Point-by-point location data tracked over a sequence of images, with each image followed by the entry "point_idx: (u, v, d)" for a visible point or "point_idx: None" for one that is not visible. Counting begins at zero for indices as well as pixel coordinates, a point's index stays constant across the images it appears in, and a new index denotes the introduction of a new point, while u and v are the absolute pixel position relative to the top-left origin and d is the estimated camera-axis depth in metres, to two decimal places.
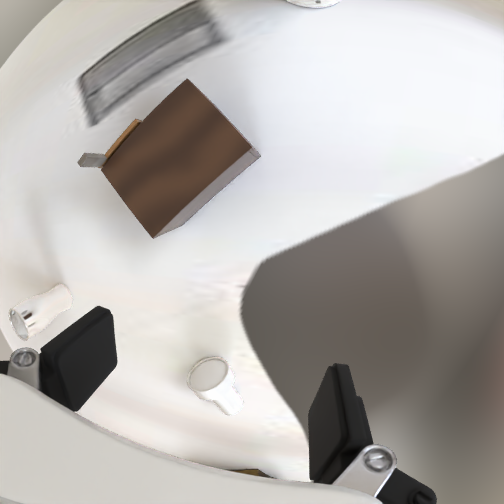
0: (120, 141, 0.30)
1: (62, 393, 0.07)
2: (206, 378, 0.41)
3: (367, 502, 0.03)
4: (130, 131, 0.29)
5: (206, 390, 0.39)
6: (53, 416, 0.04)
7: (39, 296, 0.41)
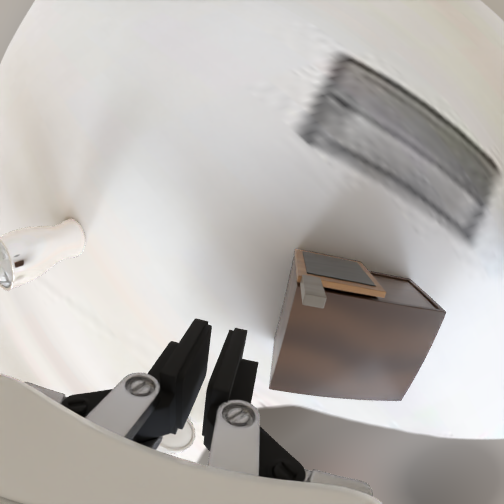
0: (349, 290, 0.23)
1: (174, 414, 0.08)
2: (172, 437, 0.36)
3: (367, 502, 0.03)
4: None
5: (167, 448, 0.35)
6: (53, 415, 0.04)
7: (48, 239, 0.28)
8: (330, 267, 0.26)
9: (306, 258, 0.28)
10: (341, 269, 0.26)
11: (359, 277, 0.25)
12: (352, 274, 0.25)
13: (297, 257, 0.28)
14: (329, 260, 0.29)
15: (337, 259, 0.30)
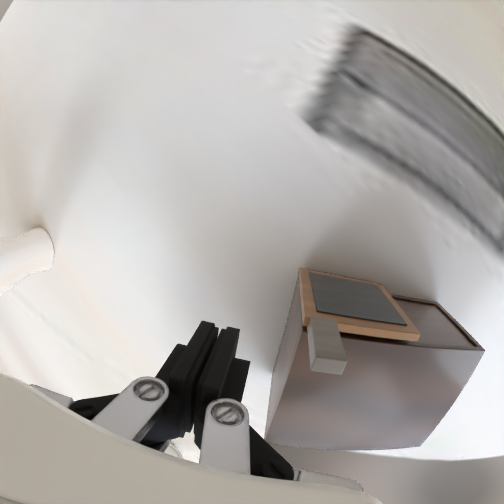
0: (374, 335, 0.15)
1: (183, 417, 0.08)
2: None
3: (367, 502, 0.03)
4: None
5: None
6: (52, 415, 0.04)
7: (8, 253, 0.21)
8: (346, 297, 0.19)
9: (314, 284, 0.21)
10: (361, 300, 0.19)
11: (385, 312, 0.17)
12: (376, 307, 0.18)
13: (302, 283, 0.21)
14: (344, 285, 0.22)
15: (353, 282, 0.23)
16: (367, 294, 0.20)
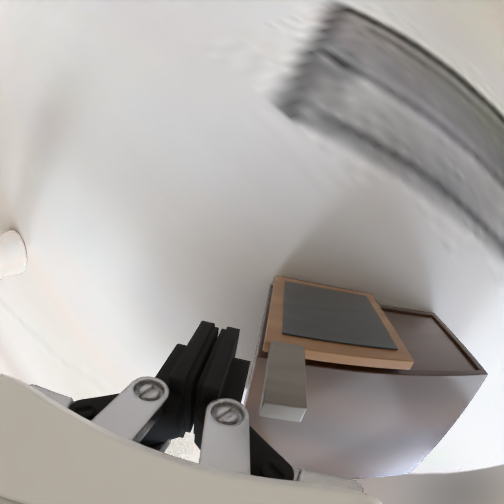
0: None
1: (183, 417, 0.08)
2: None
3: (367, 502, 0.03)
4: None
5: None
6: (53, 416, 0.04)
7: None
8: (325, 314, 0.16)
9: (288, 296, 0.18)
10: (343, 316, 0.16)
11: (371, 332, 0.14)
12: (361, 326, 0.15)
13: (274, 295, 0.18)
14: (325, 297, 0.19)
15: (337, 293, 0.20)
16: (352, 308, 0.17)
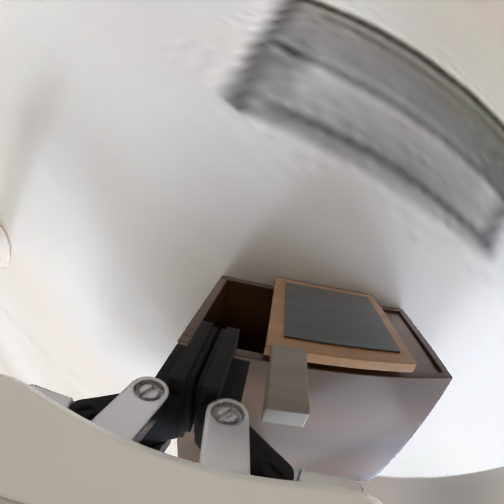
0: None
1: (183, 417, 0.08)
2: None
3: (367, 502, 0.03)
4: None
5: None
6: (53, 415, 0.04)
7: None
8: (327, 316, 0.16)
9: (289, 298, 0.18)
10: (344, 318, 0.16)
11: (373, 335, 0.14)
12: (363, 328, 0.15)
13: (274, 296, 0.18)
14: (326, 299, 0.18)
15: (339, 295, 0.19)
16: (354, 310, 0.17)
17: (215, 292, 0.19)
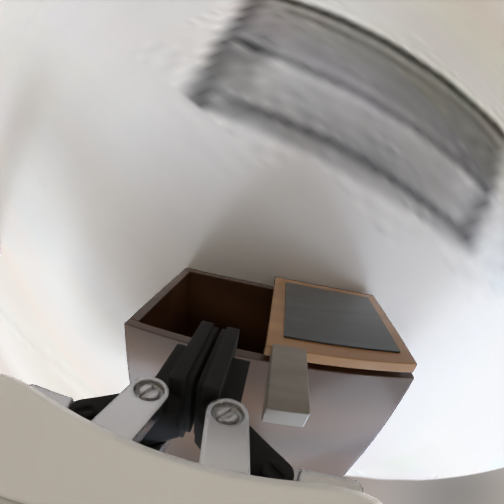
0: None
1: (183, 417, 0.08)
2: None
3: (367, 502, 0.03)
4: None
5: None
6: (53, 415, 0.04)
7: None
8: (327, 316, 0.16)
9: (289, 298, 0.17)
10: (344, 318, 0.16)
11: (373, 335, 0.14)
12: (363, 328, 0.15)
13: (274, 297, 0.18)
14: (326, 299, 0.18)
15: (338, 295, 0.19)
16: (354, 310, 0.17)
17: (174, 283, 0.19)
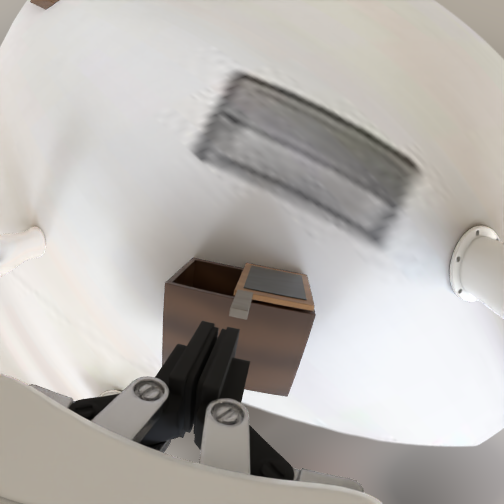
0: None
1: (183, 417, 0.08)
2: None
3: (367, 502, 0.03)
4: None
5: None
6: (53, 415, 0.04)
7: (15, 243, 0.32)
8: (269, 281, 0.31)
9: (250, 273, 0.33)
10: (280, 283, 0.31)
11: (293, 291, 0.29)
12: (288, 288, 0.30)
13: (243, 272, 0.33)
14: (273, 274, 0.34)
15: (282, 273, 0.35)
16: (287, 280, 0.32)
17: (187, 265, 0.34)
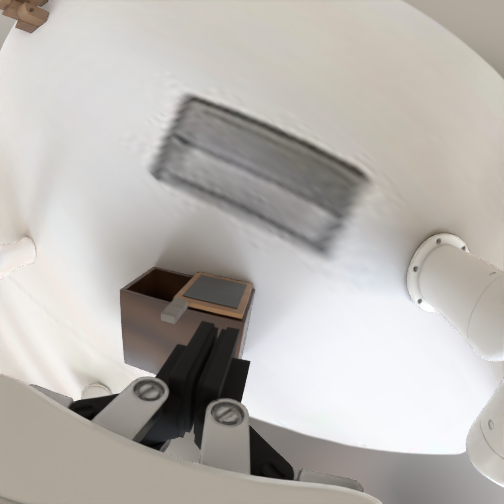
0: None
1: (182, 417, 0.08)
2: None
3: (367, 502, 0.03)
4: None
5: None
6: (53, 416, 0.04)
7: (8, 253, 0.36)
8: (210, 290, 0.34)
9: (196, 282, 0.36)
10: (219, 292, 0.34)
11: (229, 300, 0.32)
12: (225, 297, 0.33)
13: (189, 281, 0.36)
14: (217, 283, 0.37)
15: (227, 282, 0.38)
16: (229, 289, 0.35)
17: (145, 274, 0.37)
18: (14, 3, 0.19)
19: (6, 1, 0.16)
